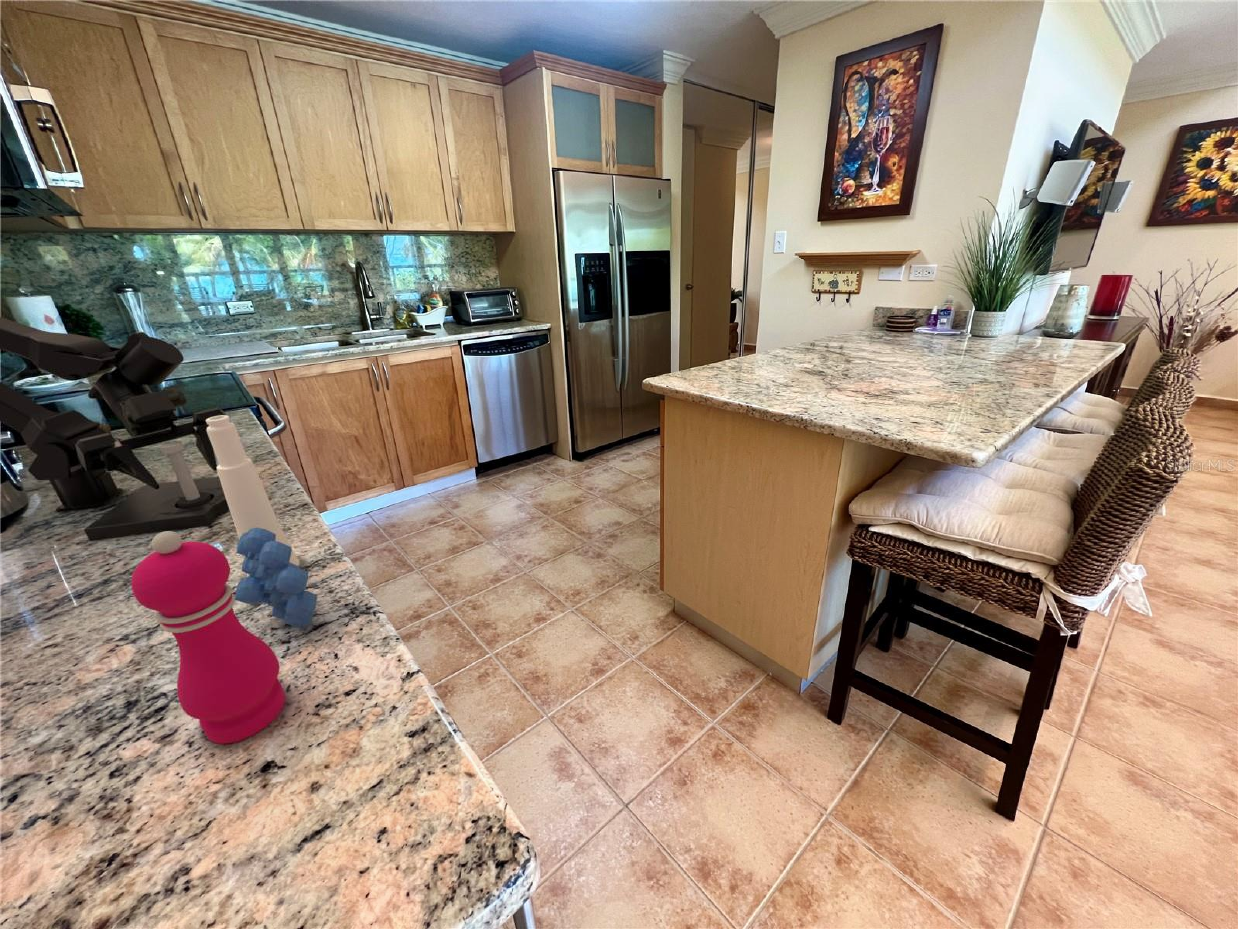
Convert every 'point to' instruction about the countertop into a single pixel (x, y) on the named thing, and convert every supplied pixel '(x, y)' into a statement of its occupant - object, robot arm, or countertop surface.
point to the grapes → (274, 578)
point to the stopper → (184, 476)
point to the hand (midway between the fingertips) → (188, 478)
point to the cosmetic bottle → (242, 483)
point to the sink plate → (159, 511)
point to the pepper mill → (209, 639)
